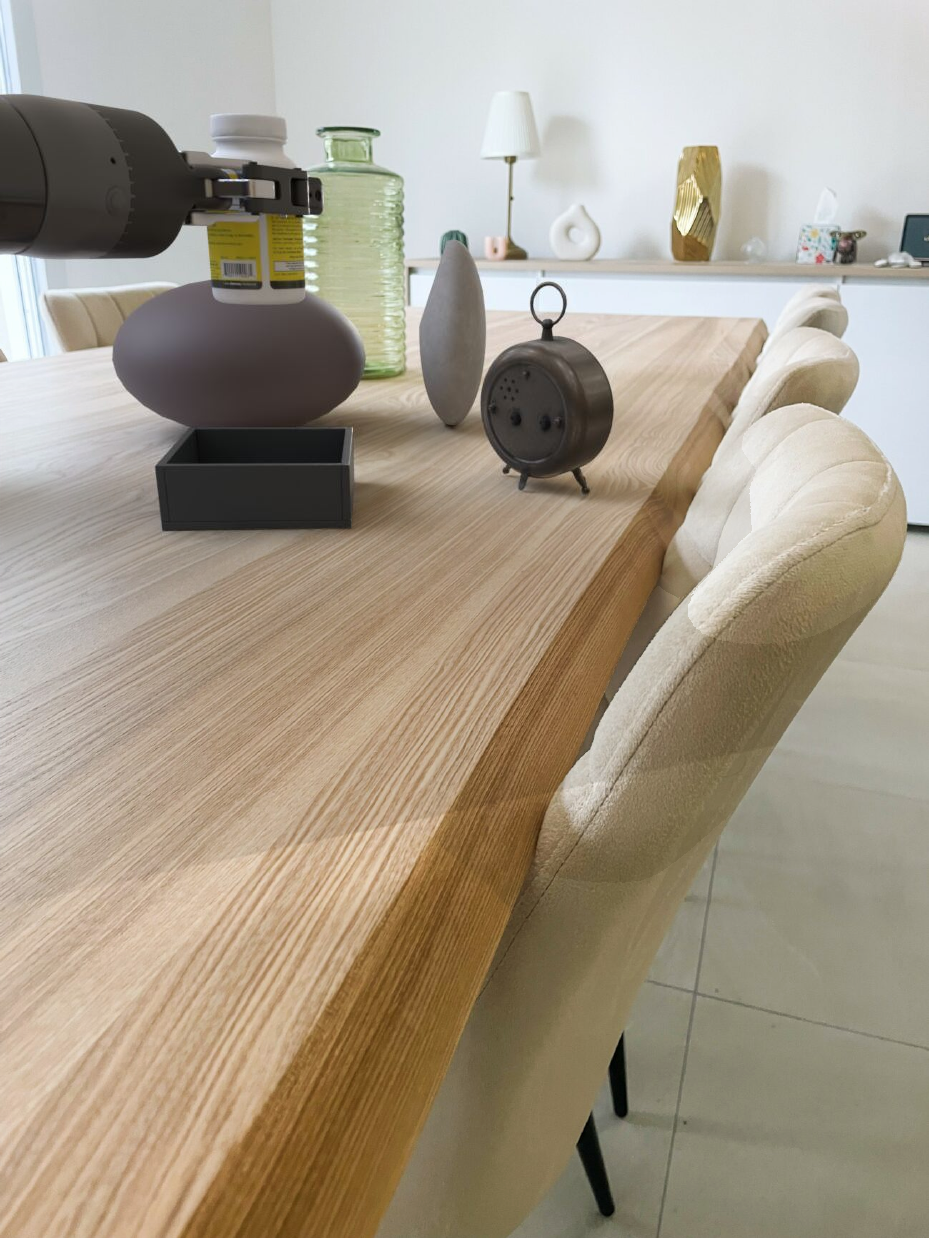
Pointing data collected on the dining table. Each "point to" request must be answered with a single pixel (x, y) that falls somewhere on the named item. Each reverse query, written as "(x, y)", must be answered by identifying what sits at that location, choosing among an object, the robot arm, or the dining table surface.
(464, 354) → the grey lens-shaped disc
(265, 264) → the pill bottle
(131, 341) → the smooth stone
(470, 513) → the dining table surface
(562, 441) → the alarm clock
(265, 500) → the bin
